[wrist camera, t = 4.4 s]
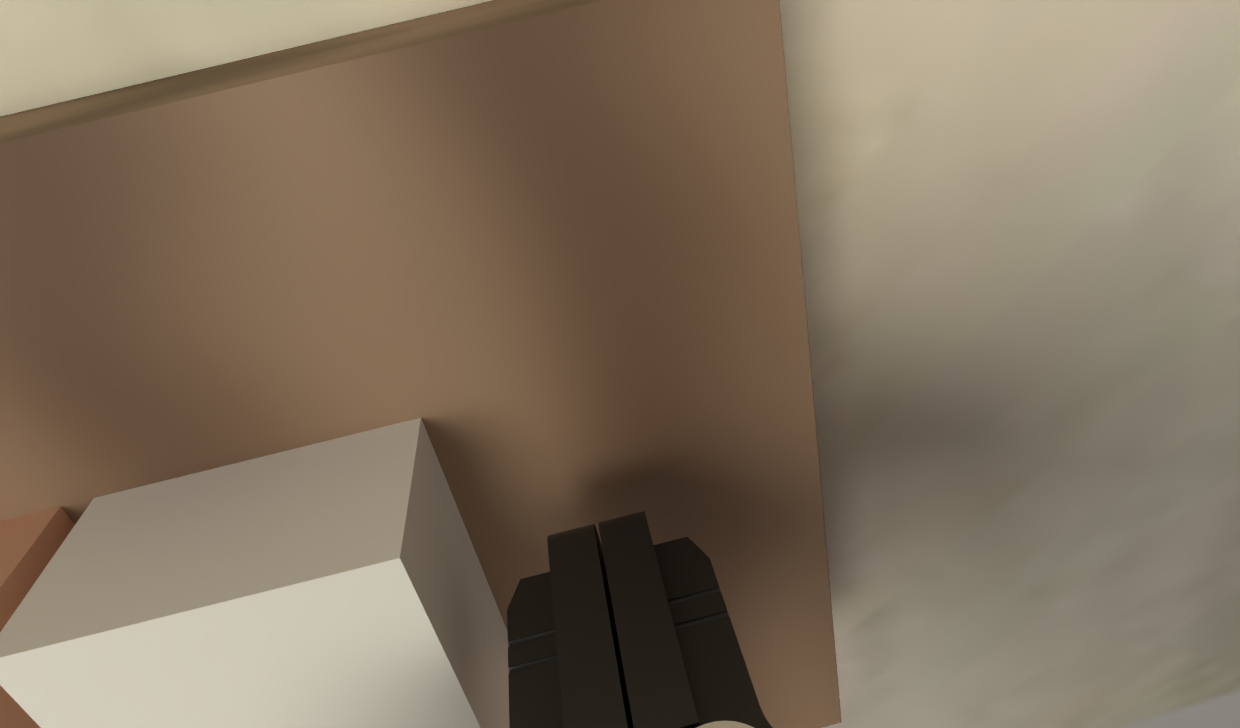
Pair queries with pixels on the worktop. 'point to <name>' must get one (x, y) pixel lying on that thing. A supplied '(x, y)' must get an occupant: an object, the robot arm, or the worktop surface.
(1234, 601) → the worktop surface
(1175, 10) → the worktop surface
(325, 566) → the ivory square block
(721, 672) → the robot arm
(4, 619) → the terracotta tile
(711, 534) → the walnut board
